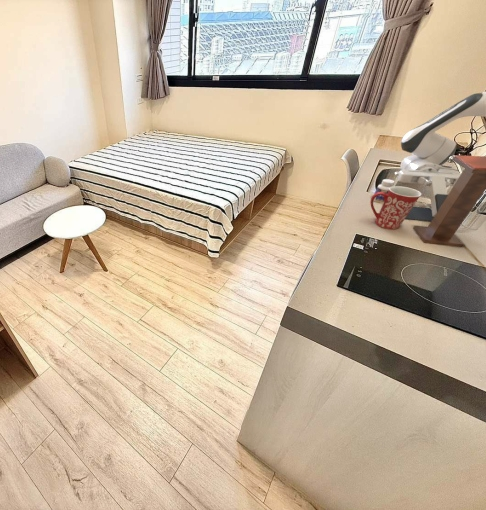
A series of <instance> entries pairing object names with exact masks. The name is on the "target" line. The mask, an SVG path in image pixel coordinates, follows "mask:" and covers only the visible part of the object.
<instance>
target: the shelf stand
mask: <svg viewBox="0 0 486 510" xmlns="http://www.w3.org/2000/svg"><path fill="white" fill-rule="evenodd" d="M451 161H453V162H454V163H456V165H459V166H460V167H461V168H463V171H462V172H461V175H460V177H459V178H458V180H457V181H456V183H455V185H454V186H452V188H451V189H450V191H449V192H448V193H447V195H448V196H447V197H446V199H445V200H444V202H443V204H442V205H441V207H440V208H439V210H438V212H437V213H436V215H435V216H434V218H433V220H432V221H431V222H430V223H429V224H428V226H423V225H421V226H420V225H414V226H413V228H412V229H413V231H414V232H415V234H416V235H417V236H418V237H419V238H420V240H421V241H422V243H423V244H429V245H439V246H447V247H455V248H463V246H464V245H465V244H464V243H463V241H461V240H460V239H459V238H458V236H456V232H457V231H458V229H459V228H460V227H461V226H462V224H463V222H464V221H465V219H467V216H468V215H469V214H470V213H471V211H472V209H473V208H474V206H475V205H476V204H477V203H478V201H479V200H480V198H481V197H482V196H483V194H484V193H485V191H486V155H483V156H482V155H458V154H457V155H455V154H454V156H452V157H451Z"/></svg>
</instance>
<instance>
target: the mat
mask: <svg viewBox="0 0 486 510" xmlns="http://www.w3.org/2000/svg"><path fill="white" fill-rule="evenodd" d="M433 218H434V217H433V216H432V208H431V207H425V206H415V205H414V206H413V207H412V209H411V210H410V212H409V213H408V215H407V216H406V218H405V219H404V220H410V221H420V222H430V223H431V221H432V220H433Z"/></svg>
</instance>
